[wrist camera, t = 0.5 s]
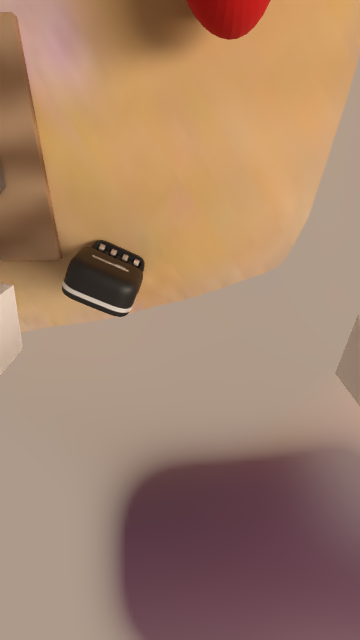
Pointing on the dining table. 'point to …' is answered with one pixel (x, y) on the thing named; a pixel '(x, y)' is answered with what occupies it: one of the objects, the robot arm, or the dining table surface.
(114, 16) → the dining table surface
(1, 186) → the ring nut
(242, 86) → the dining table surface
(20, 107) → the mount plate
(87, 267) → the battery charger
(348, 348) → the robot arm
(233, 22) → the light bulb
